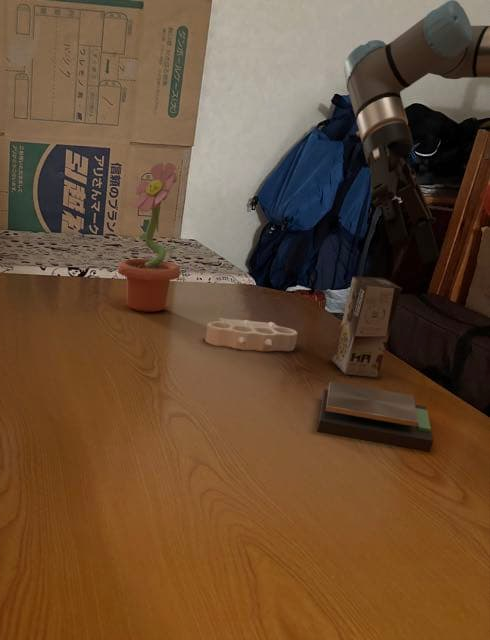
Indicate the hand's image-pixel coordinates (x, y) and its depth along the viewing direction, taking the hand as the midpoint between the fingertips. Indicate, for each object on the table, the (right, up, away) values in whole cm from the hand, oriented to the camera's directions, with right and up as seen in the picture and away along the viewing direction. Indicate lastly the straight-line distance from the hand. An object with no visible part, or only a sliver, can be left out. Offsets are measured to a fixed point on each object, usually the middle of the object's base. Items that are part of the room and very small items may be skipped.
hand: (415, 251), depth 128 cm
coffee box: (-4, -16, +18) cm, 24 cm away
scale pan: (-11, -27, -9) cm, 31 cm away
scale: (-10, -30, -8) cm, 32 cm away
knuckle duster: (-22, -8, +29) cm, 37 cm away
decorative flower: (-41, +5, +48) cm, 64 cm away
